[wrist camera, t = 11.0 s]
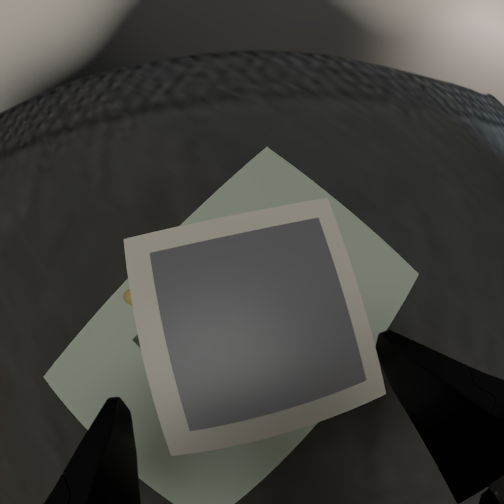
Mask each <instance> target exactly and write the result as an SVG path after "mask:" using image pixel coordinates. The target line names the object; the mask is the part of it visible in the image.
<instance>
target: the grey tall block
mask: <svg viewBox="0 0 504 504" xmlns="http://www.w3.org/2000/svg"><path fill="white" fill-rule="evenodd" d="M124 248H125V257H126V265H127V273H128V281H129V288H130V294H131V300H132V306H133V312H134V318H135V323H136V329H137V334H138V339H139V343H140V348H141V353H142V357H143V362H144V366H145V370H146V374H147V378H148V382H149V386H150V390H151V393H152V397H153V401H154V404H155V408H156V411H157V414H158V418H159V421H160V424H161V427H162V430H163V434H164V437H165V440H166V443H167V445H168V448H169V451H170V454H171V456H176V455H184V454H191V453H198V452H204V451H210V450H216V449H221V448H226V447H231V446H236V445H241V444H245V443H249V442H253V441H257V440H261V439H265V438H269V437H273V436H276V435H280V434H283V433H287V432H290V431H293V430H296V429H300V428H303V427H306V426H309V425H312V424H315V423H317V422H320V421H323V420H326V419H328V418H331V417H334V416H336V415H339V414H342V413H344V412H347V411H349V410H351V409H354V408H356V407H359V406H361V405H363V404H366V403H368V402H370V401H372V400H374V399H377V398H379V397H381V396H383V395H385V394H386V391H385V386H384V382H383V377H382V373H381V368H380V364H379V360H378V356H377V352H376V348H375V344H374V340H373V336H372V332H371V329H370V325H369V321H368V318H367V314H366V311H365V307H364V304H363V300H362V297H361V294H360V290H359V287H358V284H357V281H356V277H355V274H354V271H353V268H352V265H351V262H350V259H349V256H348V253H347V250H346V247H345V244H344V241H343V238H342V236H341V233H340V230H339V227H338V224H337V222H336V219H335V216H334V214H333V211H332V208H331V206H330V203H329V200H328V198H322V199H317V200H311V201H305V202H299V203H294V204H288V205H283V206H277V207H272V208H266V209H261V210H256V211H251V212H246V213H241V214H236V215H231V216H226V217H221V218H216V219H211V220H206V221H202V222H197V223H192V224H188V225H183V226H179V227H174V228H170V229H165V230H161V231H156V232H152V233H148V234H143V235H139V236H135V237H131V238H127V239H124Z"/></svg>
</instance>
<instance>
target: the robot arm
mask: <svg viewBox="0 0 504 504" xmlns="http://www.w3.org/2000/svg"><path fill="white" fill-rule="evenodd" d="M375 348H376V352H377V356H378V360H379V362H380V364H381V366H382V368H383V371H384V373H385V375H386V377H387V379H388V381H389V383H390V385H391V387H392V389H393V391H394V392H395V394H396V396H397V397H398V399H399V401H400V402H401V404H402V406H403V407H404V409H405V411H406V412H407V414H408V416H409V417H410V419H411V421H412V422H413V424H414V426H415V428H416V429H417V431H418V433H419V434H420V436H421V438H422V440H423V441H424V443H425V445H426V447H427V448H428V450H429V452H430V454H431V455H432V457H433V459H434V461H435V463H436V464H437V466H438V468H439V470H440V472H441V474H442V476H443V478H444V479H445V481H446V483H447V485H448V487H449V489H450V491H451V493H452V495H453V496H454V498H455V500H456V502H457V503H458V504H459V503H461V502H463V501H464V500H466V499H468V498H470V497H471V496H473V495H475V494H476V493H478V492H480V491H481V490H483V489H484V488H486V487H489V488H488V489H487V490H486V491H485V492H484V493H483V494H482V495H481V498H480V502H479V504H504V380H503V379H500V378H497V377H494V376H491V375H488V374H486V373H483V372H481V371H479V370H476V369H474V368H472V367H470V366H469V367H468V366H467V365H465V364H463V363H461V362H459V361H456V360H454V359H452V358H450V357H448V356H445V355H443V354H441V353H439V352H437V351H435V350H432V349H430V348H428V347H426V346H424V345H422V344H419V343H417V342H415V341H413V340H411V339H409V338H406V337H404V336H402V335H400V334H398V333H396V332H394V331H391V330H385V331H383V332H380V333H379V334H378V337H377V342H376V346H375ZM44 504H141V502H140V492H139V480H138V464H137V451H136V444H135V438H134V431H133V423H132V416H131V412H130V410H129V408H128V407H127V406H126V404H125V403H124V402H123V400H122V399H121V398H120V397H110V398H108V399H107V400H106V402H105V403H104V405H103V407H102V408H101V410H100V411H99V413H98V415H97V416H96V418H95V420H94V421H93V423H92V424H91V426H90V428H89V429H88V431H87V433H86V434H85V436H84V438H83V439H82V441H81V443H80V444H79V446H78V448H77V449H76V451H75V453H74V455H73V456H72V458H71V460H70V461H69V463H68V465H67V467H66V468H65V470H64V472H63V474H62V475H61V477H60V479H59V481H58V482H57V484H56V486H55V487H54V489H53V491H52V492H51V494H50V495H49V497H48V498H47V500H46V501H45V503H44Z"/></svg>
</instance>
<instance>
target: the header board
mask: <svg viewBox="0 0 504 504" xmlns="http://www.w3.org/2000/svg"><path fill="white" fill-rule="evenodd" d="M322 198H328V200H329V203H330V206H331V208H332V211H333V214H334V216H335V219H336V222H337V224H338V227H339V230H340V233H341V236H342V238H343V241H344V244H345V247H346V250H347V253H348V256H349V259H350V262H351V265H352V268H353V271H354V274H355V277H356V281H357V284H358V287H359V290H360V294H361V297H362V300H363V304H364V307H365V311H366V314H367V318H368V321H369V325H370V329H371V332H372V336H373V340H374V344H375V346H376V342H377V337H378V334H379V333H380V332H383V331H385V330H387V329H388V327H389V325H390V324H391V322H392V321H393V319H394V317H395V316H396V314H397V312H398V311H399V309H400V307H401V306H402V304H403V302H404V300H405V299H406V297H407V295H408V293H409V291H410V290H411V288H412V286H413V284H414V282H415V280H416V279H417V277H418V275H419V274H418V273H417V272H416V271H415V270H414V269H413V268H412V267H411V266H410V265H409V264H408V263H407V262H406V261H405V260H404V259H403V258H402V257H401V256H400V255H399V254H397V253H396V252H395V251H394V250H393V249H392V248H391V247H390V246H389V245H388V244H387V243H386V242H384V241H383V240H382V239H381V238H380V237H379V236H378V235H377V234H376V233H374V232H373V231H372V230H371V229H370V228H369V227H368V226H367V225H365V224H364V223H363V222H362V221H361V220H360V219H358V218H357V217H356V216H355V215H354V214H353V213H351V212H350V211H349V210H348V209H347V208H345V207H344V206H343V205H342V204H341V203H339V202H338V201H337V200H336V199H335V198H333V197H332V196H331V195H330V194H328V193H327V192H326V191H325V190H323V189H322V188H321V187H320V186H318V185H317V184H316V183H315V182H313V181H312V180H311V179H309V178H308V177H307V176H306V175H304V174H303V173H302V172H300V171H299V170H298V169H296V168H295V167H294V166H292V165H291V164H290V163H288V162H287V161H286V160H284V159H283V158H282V157H280V156H279V155H277V154H276V153H275V152H273V151H272V150H270V149H269V148H268V147H266V148H265V149H264V150H263V151H261V152H260V153H259V154H258V155H257V156H256V157H254V158H253V159H252V160H251V161H250V162H249V163H247V164H246V165H245V166H244V167H243V168H242V169H241V170H239V171H238V172H237V173H236V174H235V175H234V176H233V177H232V178H230V179H229V180H228V181H227V182H226V183H225V184H224V185H223V186H222V187H220V188H219V189H218V190H217V191H216V192H215V193H214V194H213V195H212V196H211V197H210V198H209V199H207V200H206V201H205V202H204V203H203V204H202V205H201V206H200V207H199V208H198V209H197V210H196V211H195V212H194V213H193V214H191V215H190V216H189V217H188V218H187V219H186V220H185V221H184V222H183V223H182V224H181V225H180V226H183V225H188V224H192V223H197V222H202V221H206V220H211V219H216V218H221V217H226V216H231V215H236V214H241V213H246V212H251V211H256V210H261V209H266V208H272V207H277V206H283V205H288V204H294V203H299V202H305V201H311V200H317V199H322ZM44 378H45V380H46V381H47V382H48V384H49V385H50V386H51V388H52V389H53V390H54V392H55V393H56V394H57V395H58V397H59V398H60V399H61V400H62V402H63V403H64V404H65V405H66V406H67V408H68V409H69V410H70V411H71V412H72V413H73V415H74V416H75V417H76V418H77V419H78V420H79V421H80V422H81V424H82V425H83V426H84V427H85V428H86V429H87V430H88V429H89V428H90V426H91V424H92V423H93V421H94V420H95V418H96V416H97V415H98V413H99V411H100V410H101V408H102V407H103V405H104V403H105V402H106V400H107V399H108V398H110V397H120V398H121V399H122V400H123V402H124V403H125V404H126V406H127V407H128V408H129V410H130V412H131V416H132V423H133V431H134V438H135V444H136V451H137V464H138V477H139V478H140V479H141V480H142V481H143V482H145V483H146V484H147V485H149V486H150V487H151V488H152V489H154V490H155V491H156V492H158V493H159V494H161V495H162V496H163V497H165V498H166V499H168V500H169V501H170V502H172V503H173V504H235V503H236V502H237V501H239V500H240V499H241V498H242V497H243V496H245V495H246V494H247V493H248V492H249V491H250V490H252V489H253V488H254V487H255V486H256V485H257V484H258V483H259V482H261V481H262V480H263V479H264V478H265V477H266V476H267V475H268V474H269V473H270V472H271V471H272V470H273V469H274V468H275V467H277V466H278V465H279V464H280V463H281V462H282V461H283V460H284V459H285V458H286V457H287V456H288V455H289V454H290V453H291V451H292V450H293V449H294V448H295V447H296V446H297V445H298V444H299V443H300V442H301V441H302V440H303V439H304V438H305V437H306V435H307V434H308V433H309V432H310V431H311V430H312V429H313V428H314V427H315V425H316V424H317V423H318V422H317V423H315V424H312V425H309V426H306V427H303V428H300V429H296V430H293V431H290V432H287V433H283V434H280V435H276V436H273V437H269V438H265V439H261V440H257V441H253V442H249V443H245V444H241V445H236V446H231V447H226V448H221V449H216V450H210V451H204V452H198V453H191V454H184V455H176V456H171V454H170V451H169V448H168V445H167V443H166V440H165V437H164V434H163V430H162V427H161V424H160V421H159V418H158V414H157V411H156V408H155V404H154V401H153V397H152V393H151V390H150V386H149V382H148V378H147V374H146V370H145V366H144V362H143V357H142V353H141V348H140V343H139V339H138V334H137V329H136V323H135V318H134V312H133V306H132V300H131V294H130V288H129V281H128V279H127V280H126V281H125V282H124V283H123V284H122V285H121V286H120V288H119V289H118V290H117V291H116V292H115V293H114V294H113V295H112V296H111V297H110V298H109V300H108V301H107V302H106V303H105V304H104V305H103V306H102V307H101V308H100V310H99V311H98V312H97V313H96V314H95V315H94V316H93V318H92V319H91V320H90V321H89V322H88V323H87V324H86V326H85V327H84V328H83V329H82V330H81V331H80V333H79V334H78V335H77V336H76V337H75V339H74V340H73V341H72V342H71V343H70V344H69V346H68V347H67V348H66V349H65V351H64V352H63V353H62V354H61V355H60V357H59V358H58V359H57V360H56V362H55V363H54V364H53V365H52V367H51V368H50V369H49V370H48V372H47V373H46V374H45V376H44Z"/></svg>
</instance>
